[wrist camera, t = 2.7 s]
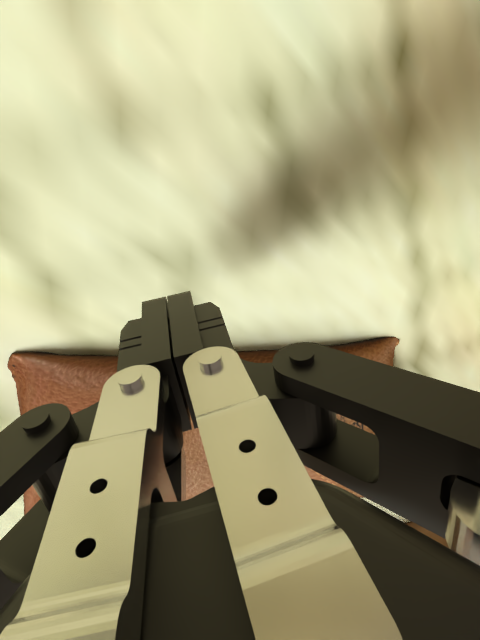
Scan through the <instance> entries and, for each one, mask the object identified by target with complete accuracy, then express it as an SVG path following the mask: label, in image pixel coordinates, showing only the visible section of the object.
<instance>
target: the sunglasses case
mask: <svg viewBox="0 0 480 640" xmlns="http://www.w3.org/2000/svg"><path fill="white" fill-rule="evenodd" d="M398 343H399V339H398V338H396V337H382V338H374V339H369V340H364V341H358V342H352V343H347V344H340V345H332V346H326V347H329V348H333V349H336V350H339V351H343V352H346V353H350V354H353V355H356V356H360V357H363V358H366V359H370V360H373V361H376V362H380V363H383V364H386V365H390V366H393V358H394V350H395V347H396V345H398ZM278 351H279V350H258V351H240V352H236V353H237V354H238V356H239V357H240V358H241V359H243V360H246V361H249V362H254V363H272V361H273V357H274V355H275V354H276V353H277V352H278ZM117 364H118V356H98V355H58V354H53V353H49V352H20V353H12V354H11V356H10V358H9V361H8V369H9V370H10V371H11V372H12V377H13V378H14V380H15V382H16V388H17V396H18V401H19V407H20V415H23V414H24V413H26V412H28V411H29V410H31V409H33V408H36V407H38V406H41V405H45V404H51V403H59V404H63V405H65V406H67V407H68V408H69V410H70V412H71V414H74V413H76V412H79V411H81V410H83V409H85V408H87V407H89V406H91V405H93V404H95V403H97V402H98V401H100V397H101V393H102V389H103V386H104V384H105V383H106V381H107V380H108V379H109V378H110V377H111V376H112V375H114V374H115V373H117ZM190 419H191V415H190ZM336 419H338V420H341V421H343V422H345V423H348V424H350V425H353V426H355V427H357V428H360V429H362V430H365V431H367V432H370V433H372V434H374V435H375V433H374V432H373V431H372V430H371V429H370V428H368V427H367V426H365V425H363V424H361V423H359V422H356V421H354V420H351V419H349V418H346V417H344V416H341V415H339V414H337V413H336ZM191 426H192V430H188V431H185V432H183V448H184V451H185V455H186V500H188V499H191V498H193V497H195V496H196V495H198V494H200V493H202V492H204V491H206V490H208V489H210V488H212V487H214V483H213V480H212V476H211V472H210V469H209V465H208V461H207V458H206V454H205V450H204V446H203V443H202V439H201V435H200V432H199V428H196V429H194V426H193V422H192V419H191ZM304 467H305V469H306V471H307V473H308V475H309V477H310V478H311V479H315V480H320V481H324V482H327V483H330V484H333V485H336V486H338V487H340V488H343V489H345V490H347V491H349V492H350V493H352V494H354V495H356V496H357V497H359V498H360V497H364V496H362V495H360V494H358V493H356V492H354V491H352V490H350V489H348V488H346V487H344V486H342V485H340V484H339V483H337V482H335V481H333V480H331V479H329V478H327V477H325V476H323V475H321V474H319V473H317V472H315V471H314V470H312V469H310V468H308V467H306V466H304ZM23 496H24V515H25V514H26V513H27V512H28V511H29V510H30V509H31V508H32V507H33V506H34V505H35V504H36V503H37V502H38V501H39V500H40V499H41V498H40V497H39V495H38V494H37V492H36V490H35V489H34V487H33V485H32V486H31V487H30V488H29V489H28V490H27V491H26V492H24V495H23Z"/></svg>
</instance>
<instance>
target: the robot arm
mask: <svg viewBox="0 0 480 640" xmlns="http://www.w3.org/2000/svg"><path fill="white" fill-rule="evenodd" d="M167 299H168V302H167ZM167 299H166V297H162V298H158V299H153V300H149V301H145V302H142V318H140V319H136V320H131V321H128V323H127V324H126V325H125V327H124V328H123V329H122V330H121V335H120V345H119V350H120V351H119V354H118V364H117V373H115V374H114V375H112V376H111V377H110V378H109V379H108V380H107V381H106V383H105V384H104V386H103V389H102V393H101V397H100V401H98V402H97V403H95V404H93V405H91V406H89V407H87V408H85V409H83V410H81V411H79V412H76V413H74V414H71V412H70V410H69V408H68V407H67V406H65V405H63V404H59V403H51V404H45V405H41V406H38V407H36V408H33V409H31V410H29V411H28V412H26V413H24V414H23V415H21V416H20V417H19V418H17V419H16V420H15V421H14V422H12V423H11V424H10V425H9V426H8V427H6V428H5V429H4V430H3V431H1V432H0V516H1V515H2V514H3V513H4V512H5V511H6V510H7V509H8V508H9V507H10V506H11V505H12V504H13V503H14V502H15V501H16V500H17V499H18V498H19V497H20V496H21V495H22V494H23V493H24V492H26V491H27V490H28V489H29V488H30V487H31V486H32V485H33V487H34V489H35V490H36V492H37V494H38V495H39V497H40V498H41V499H40V500H39V501H38V502H37V503H36V504H35V505H34V506H33V507H32V508H31V509H30V510H29V511H28V512H27V513H26V514H25V515H24V516H23V518H22V519H21V520H20V521H19V522H18V523H17V524H16V525H15V526H14V527H13V528H12V529H11V530H10V531H9V532H8V533H7V534H6V535H5V536H4V537H3V538H2V539H1V540H0V640H480V392H477V391H473V390H470V389H467V388H463V387H460V386H457V385H453V384H450V383H447V382H443V381H440V380H436V379H433V378H430V377H426V376H423V375H420V374H416V373H413V372H410V371H406V370H403V369H400V368H396V367H393V366H390V365H386V364H383V363H380V362H376V361H373V360H370V359H366V358H363V357H360V356H356V355H353V354H350V353H346V352H343V351H339V350H336V349H333V348H329V347H326V346H323V345H319V344H316V343H309V342H302V343H294V344H291V345H288V346H285V347H283V348H282V349H280V350H279V351H278V352H277V353H276V354H275V355H274V357H273V361H272V363H254V362H249V361H246V360H243V359H241V358H240V357H239V356H238V354H237V353H236V352H235V351H234V349H233V346H232V343H231V340H230V337H229V335H228V332H227V329H226V326H225V323H224V320H223V317H222V314H221V311H220V308H219V307H217V306H216V305H214V304H213V303H211V302H208V303H204V304H199V305H195V306H194V305H193V301H192V296H191V292H190V291H188V292H183V293H179V294H175V295H170V296H167ZM336 413H337V414H339V415H341V416H344V417H346V418H349V419H351V420H354V421H356V422H359V423H361V424H363V425H365V426H367V427H368V428H370V429H371V430H372V431H373V432H374V433H375V435H374V434H372V433H370V432H367V431H365V430H362V429H360V428H357V427H355V426H353V425H350V424H348V423H345V422H343V421H341V420H338V419H336ZM190 415H191V419H192V422H193V426H194V429H196V428H199V432H200V435H201V439H202V443H203V446H204V450H205V454H206V458H207V461H208V465H209V469H210V472H211V476H212V480H213V483H214V487H212V488H210V489H208V490H206V491H204V492H202V493H200V494H198V495H196V496H195V497H193V498H191V499H188V500H186V455H185V451H184V448H183V432H185V431H188V430H192V426H191V419H190ZM304 466H306V467H308V468H310V469H312V470H314V471H315V472H317V473H319V474H321V475H323V476H325V477H327V478H329V479H331V480H333V481H335V482H337V483H339V484H340V485H342V486H344V487H346V488H348V489H350V490H352V491H354V492H356V493H358V494H360V495H362V496H364V497H365V498H367V499H369V500H371V501H373V502H375V503H377V504H379V505H381V506H383V507H385V508H387V509H389V510H391V511H392V512H394V513H396V514H398V515H400V516H402V517H404V518H406V519H408V520H410V521H412V522H414V523H416V524H417V525H419V526H421V527H423V528H425V529H427V530H429V531H431V532H433V533H435V534H437V535H439V536H441V537H442V538H444V539H446V541H447V544H448V546H449V548H448V547H446V546H444V545H442V544H441V543H439V542H437V541H435V540H433V539H432V538H430V537H428V536H426V535H425V534H423V533H421V532H419V531H418V530H416V529H414V528H412V527H410V526H409V525H407V524H405V523H403V522H402V521H400V520H398V519H396V518H395V517H393V516H391V515H389V514H388V513H386V512H384V511H382V510H380V509H379V508H377V507H375V506H373V505H372V504H370V503H368V502H366V501H365V500H363V499H361V498H359V497H357V496H356V495H354V494H352V493H350V492H349V491H347V490H345V489H343V488H340V487H338V486H336V485H333V484H330V483H327V482H324V481H320V480H315V479H311V478H310V477H309V475H308V473H307V471H306V469H305V467H304Z"/></svg>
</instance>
